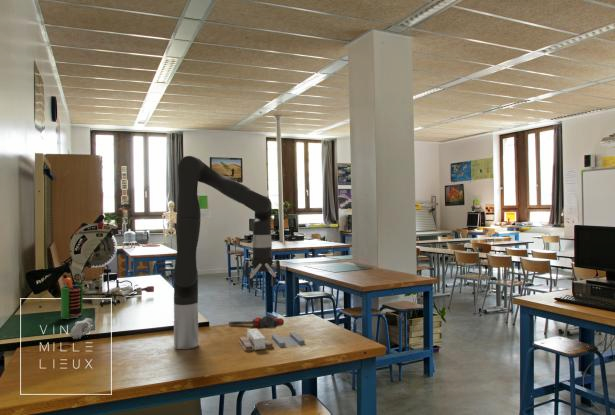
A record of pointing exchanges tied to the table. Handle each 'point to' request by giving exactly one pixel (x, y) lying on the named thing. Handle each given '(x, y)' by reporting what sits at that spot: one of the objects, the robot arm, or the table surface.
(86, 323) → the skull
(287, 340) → the grey channel bracket
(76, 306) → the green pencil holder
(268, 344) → the cradle
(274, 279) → the robot arm
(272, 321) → the valve
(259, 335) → the block
